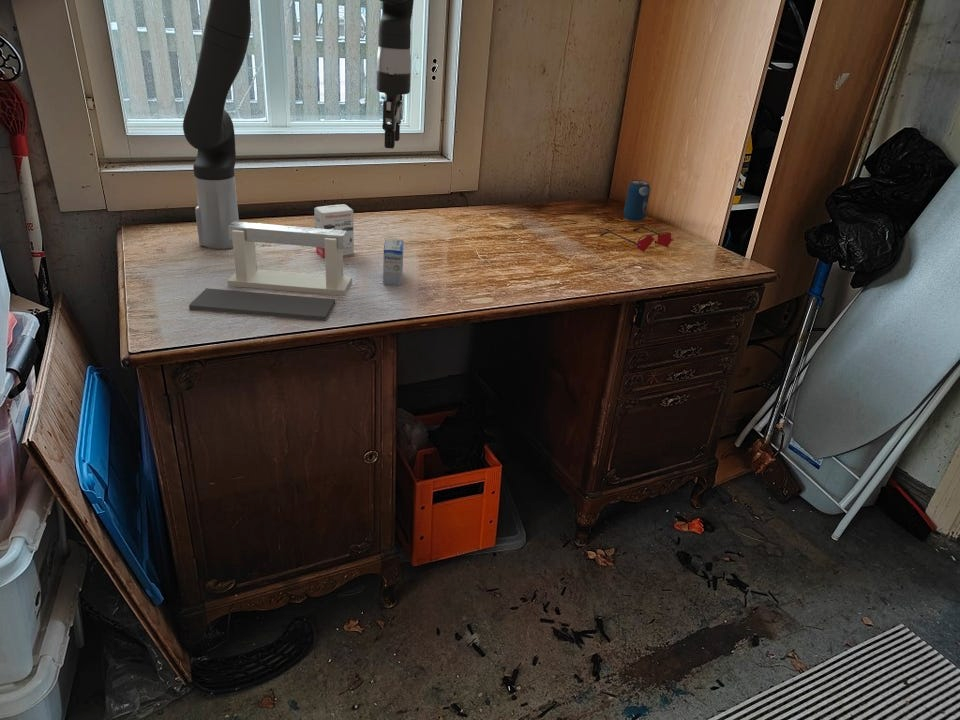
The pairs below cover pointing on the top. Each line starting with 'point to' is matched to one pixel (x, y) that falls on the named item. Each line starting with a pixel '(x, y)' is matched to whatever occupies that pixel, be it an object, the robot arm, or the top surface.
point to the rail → (288, 234)
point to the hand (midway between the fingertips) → (392, 144)
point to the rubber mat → (263, 304)
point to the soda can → (636, 200)
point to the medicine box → (393, 262)
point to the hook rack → (288, 280)
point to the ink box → (335, 224)
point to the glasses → (649, 239)
